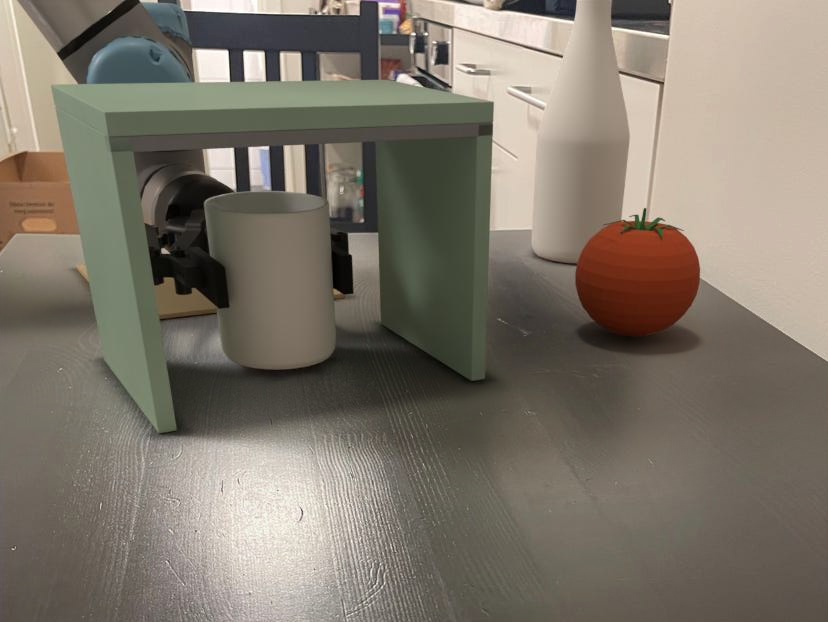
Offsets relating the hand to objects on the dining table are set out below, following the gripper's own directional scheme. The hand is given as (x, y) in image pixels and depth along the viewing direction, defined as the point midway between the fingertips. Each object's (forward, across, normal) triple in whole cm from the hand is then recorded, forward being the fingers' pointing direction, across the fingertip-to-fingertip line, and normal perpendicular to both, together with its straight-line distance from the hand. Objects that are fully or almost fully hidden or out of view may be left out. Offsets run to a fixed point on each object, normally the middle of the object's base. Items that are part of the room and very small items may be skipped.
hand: (286, 281), depth 68 cm
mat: (-28, -2, -7) cm, 29 cm away
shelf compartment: (-1, 0, -7) cm, 7 cm away
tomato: (+3, -29, -7) cm, 30 cm away
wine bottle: (-24, -41, -7) cm, 48 cm away
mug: (-5, 0, -6) cm, 8 cm away
